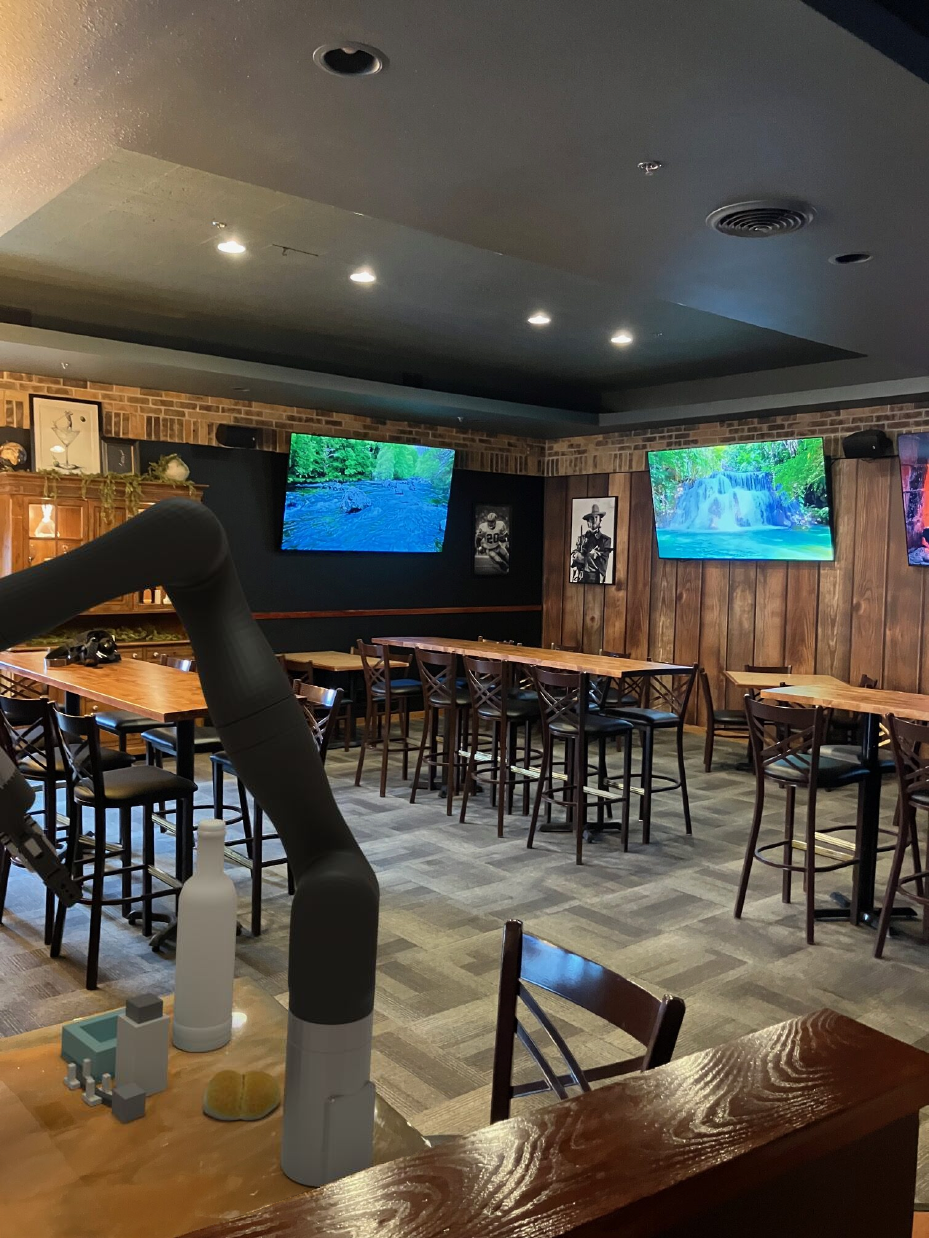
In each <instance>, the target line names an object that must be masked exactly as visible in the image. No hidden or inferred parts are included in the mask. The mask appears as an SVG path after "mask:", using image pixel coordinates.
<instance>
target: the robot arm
mask: <svg viewBox="0 0 929 1238" xmlns="http://www.w3.org/2000/svg"><path fill="white" fill-rule="evenodd" d="M158 587H161V588H162V589H163V591H164V592H165V593H164V594H165V595H166V596H167V599H169V601H170V604H171V605H172V607H173V609H174V611H175V612H176V614H177V617H178V618H179V620H180V622H181V624H182V626H183V629H184V631H185V633H186V635H187V638H188V640H189V643H190V648H191V650H192V654H193V659H194V662H195V663H194V664H195V667H196V671H197V676H198V681H199V684H200V688H201V692H202V695H203V698H204V701H205V705H206V708H207V710H208V713H209V716H210V719H211V722H212V725H213V726H214V728H215V729H214V730H215V731H216V734H217V736H218V738H219V741H220V743H221V745H222V748H223V750H224V752H225V754H226V757H227V759H228V761H229V762H230V765H231V766H232V769H233V770H234V772H235V773H236V776H237V777H238V779H239V781H241V783H242V784H243V786H244V787H245V789H246V790H247V791H248V793H249V795H251V797H252V798H253V800H254V801H255V803H257V804H258V806H259V807H260V809H261V810H262V811H263V812H264V814H265V815H266V816H267V818H268V820H269V821H270V822H271V824H272V825H273V827H274V829H275V831H276V833H277V835H278V837H279V840H280V843H281V845H282V847H283V848H282V849H284V852H285V855H286V858H287V861H288V863H289V868H290V871H291V872H292V876H293V880H294V884H295V888H296V889H295V892H294V895H293V899H292V903H291V908H290V918H289V936H288V937H289V939H288V966H287V969H288V970H287V987H288V1007H287V1008H288V1010H287V1027H286V1028H287V1030H286V1031H287V1032H286V1047H285V1064H284V1066H285V1067H284V1084H283V1085H284V1087H283V1105H282V1106H283V1109H282V1123H281V1125H282V1126H281V1128H282V1130H281V1148H280V1149H281V1151H280V1167H281V1169H282V1170H281V1171H282V1172H283V1173H284V1174H285V1175H286V1176H287V1177H288V1178H289V1179H290V1180H291V1181H294V1182H297V1183H298V1184H301V1185H304V1186H311V1187H318V1188H321V1187H320V1186H324V1185H325V1184H328V1183H331V1182H334V1181H337V1180H339V1179H341V1178H345V1177H346V1176H349V1175H352V1174H354V1173H357V1172H360V1171H362V1170H365V1169H366V1168H370V1167H373V1145H374V1132H375V1131H374V1130H375V1128H374V1127H375V1113H376V1111H375V1110H376V1108H375V1107H376V1091H377V1085H376V1083H375V1082H374V1081H372V1080H371V1065H372V1063H371V1062H372V1047H373V1046H372V1045H373V1044H372V1043H373V1042H372V1041H373V1026H374V1009H375V995H376V982H377V981H376V977H377V976H376V975H377V958H378V957H377V953H378V940H379V939H378V938H379V921H380V920H379V919H380V901H381V900H380V897H381V893H380V892H381V891H380V890H381V889H380V884H379V881H378V877H377V875H376V872H375V871H374V869H373V867H372V865H371V864H370V862H369V861H368V858H367V857H366V855H365V854H364V851H363V850H362V849H361V847H360V845H359V844H358V842H357V840H356V837H354V834H353V832H352V831H351V828H350V826H349V825H348V823H347V822H346V820H345V818H344V816H343V814H342V812H341V810H340V808H339V806H338V804H337V801H336V799H335V797H334V794H333V793H334V792H333V791H332V787H331V785H330V781H329V779H328V776H327V772H326V770H325V765H324V764H323V761H322V758H321V755H320V752H319V749H318V747H317V744H316V741H315V739H314V737H313V733H312V731H311V729H310V728H311V727H310V726H309V723H308V720H307V718H306V715H305V714H304V711H303V709H302V705H301V704H300V702H299V700H298V697H297V694H295V691H294V689H293V686H292V684H291V682H290V681H289V678H288V676H287V674H286V672H285V671H284V668H283V666H282V665H281V663H280V661H279V659H278V657H277V655H276V654H275V652H274V650H273V648H272V647H271V645H270V643H269V642H268V639H267V638H266V637H265V635H264V633H263V631H262V629H261V628H260V626H259V625H258V623H257V621H256V619H255V618H254V615H253V614H252V611H251V609H250V607H249V604H248V602H247V599H246V596H245V593H244V591H243V587H242V585H241V582H240V579H239V576H238V572H237V570H236V566H235V563H234V559H233V557H232V554H231V549H230V545H229V540H228V536H227V534H226V530H225V528H224V526H223V524H222V523H221V520H220V519H218V517H217V515H216V514H215V513H214V512H213V511H212V510H211V509H210V508H209V507H207V506H206V505H205V504H204V503H202V502H199V501H197V500H195V499H192V498H189V497H182V496H174V497H173V496H172V497H167V498H164V499H161V500H158V501H157V502H155V503H153V504H151V505H150V506H149V507H147V508H145V509H144V510H142V511H140V512H138V513H137V514H135V515H133V516H132V517H130V518H129V519H127V520H126V521H124V522H122V523H120V524H119V525H117V526H115V527H114V528H112V529H111V530H109V531H107V532H105V533H103V534H101V535H100V536H98V537H95V538H94V539H92V540H90V541H88V542H86V543H84V544H82V545H79V546H77V547H75V548H73V549H70V550H68V551H67V552H64V553H62V554H59V555H58V556H55V557H52V558H50V559H47V560H45V561H43V562H40V563H37V564H34V565H30V566H29V567H27V568H23V569H21V570H19V571H16V572H12V573H10V574H8V575H3V576H2V577H0V653H2V652H5V651H7V650H11V649H12V648H14V647H17V646H19V645H22V644H24V643H26V642H28V641H31V640H33V639H35V638H38V637H39V636H41V635H43V634H45V633H47V632H50V631H51V630H53V629H55V628H58V627H59V626H61V625H62V624H65V623H66V622H69V621H71V620H72V619H73V618H75V617H77V616H79V615H81V614H83V613H85V612H87V611H89V610H91V609H93V608H96V607H97V606H101V605H102V604H105V603H107V602H111V601H113V600H115V599H118V598H121V597H125V596H128V595H130V594H134V593H138V592H142V591H145V590H151V589H155V588H158ZM17 767H18V766H17V765H15V764H14V762H13V761H12V759H11V758H10V757H9V756H8V754H7V753H6V751H5V750H4V749H3V748H2V746H0V842H1V843H2V845H4V847H6V849H7V850H8V851H9V853H10V854H11V855H12V856H16V857H17V858H18V860H19V861H20V863H22V865H23V866H24V867H25V868H26V870H27V871H28V872H29V873H31V874H34V873H36V874H37V875H38V877H40V879H41V881H42V883H43V885H44V886H45V887H46V888H47V887H48V889H50V890H51V891H52V892H53V894H54V895H55V896H56V897H57V899H58V900H59V901H60V902H61V904H62V905H63V906H64V907H65V908H66V909H71V908H72V907H74V906H75V905H76V904H78V902H80V901H81V900H82V899H83V897H84V893H83V891H81V889H80V888H79V887H78V885H77V884H76V883H75V881H74V880H73V879H72V877H71V876H70V875H69V874H70V872H69V868H68V867H67V865H66V866H65V865H64V864H63V863H62V861H60V859H59V858H58V857H57V855H58V851H57V849H56V848H55V846H54V845H53V844H52V842H51V841H50V840H49V839H48V838H47V837H46V835H45V834H44V833H45V831H44V830H43V828H42V827H41V825H40V824H39V822H37V821H36V820H35V819H34V818H33V817H32V815H30V814H29V813H28V811H30V810H31V809H32V807H33V806H34V804H35V801H36V799H37V794H36V792H35V789H34V788H33V787H32V786H31V785H30V783H29V782H28V780H27V779H26V778H25V776H24V775H23V773H22V772H21V771H20V769H18V768H17ZM27 813H28V814H27Z"/></svg>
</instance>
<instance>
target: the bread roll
mask: <svg viewBox="0 0 929 1238" xmlns="http://www.w3.org/2000/svg"><path fill="white" fill-rule="evenodd" d="M280 1089H281V1088H280V1085H279V1083H278V1081H277V1079H276V1078H275V1077H274V1076H273V1075H272V1074H271V1073H269V1072H265V1071H261V1070H250V1071H249V1070H248V1071H245V1072H244V1073H242V1074H241V1073H240V1072H237V1071H236V1070H230V1069H223V1070H221V1071H219V1072H217V1073H216V1074H214V1075H213V1076H212V1077H211V1079H210V1080H209V1082H208V1083H207V1084H206V1088H205V1090H204V1091H205V1092H204V1097H203V1105H202V1110H203V1112H204V1113H205V1114H206V1115H208V1116H209V1117H212V1118H215V1119H217V1120H222V1121H237V1120H243V1121H254V1120H255V1121H256V1120H259V1119H262V1118H263V1117H266V1116H267V1115H268V1114H269V1113H270V1112H272V1111H273V1110H274V1109H275V1108H276V1107H277V1106H278V1105H279V1103H280V1099H281V1090H280Z"/></svg>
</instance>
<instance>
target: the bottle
mask: <svg viewBox="0 0 929 1238" xmlns="http://www.w3.org/2000/svg"><path fill="white" fill-rule="evenodd" d="M226 835H227V830H226V822H225V820H223V819H218V818H209V819H208V818H207V819H203V820H201V821H199V822H198V824H197V830H196V836H197V842H196V843H197V844H196V863H195V873H193V875H192V876H190V877H189V878H188V879H187V880H185V882H184V883H183V886H182V889H181V891H180V894H179V896H178V906H177V907H178V908H177V909H178V910H177V929H176V930H177V931H176V949H175V950H176V951H175V953H176V954H175V973H174V974H175V975H174V991H173V992H174V995H173V1015H172V1021H171V1032H172V1034H171V1035H172V1037H171V1038H172V1039H171V1040H172V1044H173V1045H174V1046H175V1047H176V1048H177V1049H179V1050H181V1049H182V1051H184V1052H190V1053H205V1052H212V1051H215V1050H217V1049H219V1048H222V1047H224V1046H225V1045H227V1044H228V1043H229V1042H230V1040H231V1037H232V1028H233V1000H234V984H235V983H234V979H235V978H234V977H235V960H236V959H235V956H236V939H237V938H236V937H237V935H236V934H237V921H238V920H237V919H238V900H239V899H238V893H237V890H236V888H235V884H234V881H233V880H232V878H230V877H229V876H228V875H227V874H226V873H225V872H224V865H225V863H224V862H225V845H226V844H225V843H226V841H225V840H226Z"/></svg>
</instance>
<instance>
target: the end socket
mask: <svg viewBox="0 0 929 1238" xmlns="http://www.w3.org/2000/svg"><path fill="white" fill-rule="evenodd" d="M125 1011H126V1007H123V1008H120V1009H117V1010H116V1009H115V1010H113V1011H110V1012H107V1013H103V1014H100V1015H96V1016H93V1017H88V1018H86V1019H85V1018H84V1019H83V1020H79V1021H75V1022H71V1023H69V1024H64V1025H62V1027H61V1049H60V1050H61V1053H60V1057H61V1058H62V1059H64V1061H66V1063H68V1065H69V1064H72V1063H74V1064H75V1065H76V1069H80V1068H82V1072H83V1060H84V1059H87V1058H88V1059H89V1060H91V1071H90V1076H91V1077H92V1078H93V1080H94V1081H95V1086H97V1085H98V1084H102V1075H104V1074H107V1073H108V1074H109V1075H111V1080H113V1079H115V1065H116V1043H117V1021H118V1015H119V1014H123V1013H125Z"/></svg>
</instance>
